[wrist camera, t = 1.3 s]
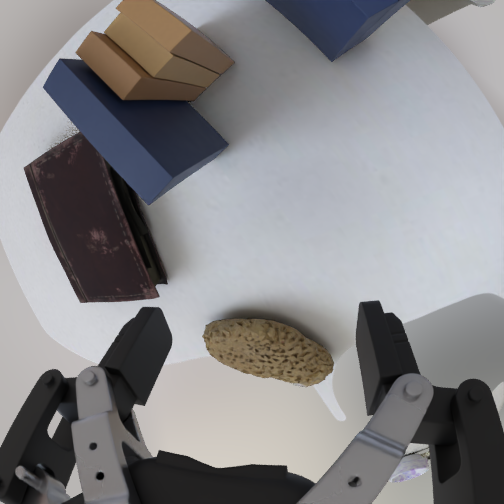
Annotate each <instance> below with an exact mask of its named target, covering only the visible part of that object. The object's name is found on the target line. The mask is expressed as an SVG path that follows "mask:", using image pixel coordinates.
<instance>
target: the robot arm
mask: <svg viewBox="0 0 504 504" xmlns="http://www.w3.org/2000/svg"><path fill="white" fill-rule="evenodd" d="M171 346H172V334H171V332H170V329H169V327H168V324H167V322H166V319H165V317H164V314H163V312H162V310H161V309H160V308H159V307H142V308H141V309H140V311H139V312H138V314H137V315H136V317H135V318H132V319H131V320H130V321H129V322H128V323H126V324H125V325H124V326H123V328H122V329H121V331H120V332H119V335H117V337H116V338H115V340H114V342H113V343H112V345H111V346H110V348H109V349H108V351H107V352H106V354H105V355H104V357H103V359H102V360H101V362H100V363H99V365H98V366H91V367H88V368H86V369H84V370H83V371H82V372H81V373H80V374H79V375H78V377H75V378H64V376H63V375H62V374H61V372H60V371H58V370H56V369H52V370H49V371H46V372H45V373H44V374H43V375H42V376H41V377H40V378H39V380H38V381H37V383H36V385H35V386H34V388H33V389H32V391H31V393H30V394H29V396H28V398H27V399H26V401H25V403H24V404H23V406H22V408H21V410H20V411H19V413H18V415H17V417H16V419H15V420H14V422H13V424H12V426H11V428H10V430H9V431H8V433H7V435H6V437H5V440H4V441H3V443H2V445H1V447H0V501H1V502H3V503H5V504H372V502H373V501H374V500H375V498H376V497H377V496H378V494H379V493H380V492H381V490H382V489H383V487H384V486H385V485H386V483H387V482H388V480H389V479H390V477H391V476H392V474H393V473H394V471H395V470H396V468H397V466H398V465H399V463H400V462H401V460H402V458H403V456H404V454H405V451H406V449H407V447H408V445H409V443H418V444H429V451H430V459H431V469H432V481H433V498H434V504H504V432H503V428H502V425H501V421H500V418H499V414H498V411H497V408H496V405H495V402H494V399H493V396H492V393H491V390H490V388H489V387H488V386H487V384H485V383H484V382H483V381H481V380H478V379H468V380H466V381H464V382H463V383H461V384H460V386H459V387H458V389H454V388H441V387H436V386H433V385H432V384H431V382H430V381H429V380H428V379H427V378H425V377H424V376H422V375H421V374H420V372H419V369H418V366H417V363H416V360H415V358H414V355H413V352H412V349H411V346H410V343H409V342H408V338H407V335H406V333H405V330H404V328H403V325H402V322H401V320H400V319H399V318H398V317H397V316H396V315H394V314H393V313H384V312H383V309H382V306H381V303H380V301H367V302H360V304H359V311H358V320H357V328H356V347H357V352H358V358H359V363H360V369H361V375H362V381H363V388H364V394H365V402H366V409H367V415H368V416H369V415H373V417H372V418H371V420H370V421H369V422H368V424H367V425H366V427H365V428H364V429H363V430H362V431H361V432H359V433H358V434H357V435H356V436H355V438H354V439H353V440H352V441H351V443H350V444H349V445H348V447H347V448H346V449H345V450H344V452H343V453H342V454H341V455H340V457H339V458H338V459H337V460H336V461H335V463H334V464H333V465H332V466H331V467H330V468H329V470H328V471H327V472H326V473H325V474H324V475H323V476H322V478H321V479H320V480H319V481H318V482H317V483H316V484H315V483H314V482H312V481H311V480H309V479H307V478H304V477H302V476H299V475H297V474H293V473H289V472H288V471H287V466H282V465H255V464H251V465H244V466H236V467H227V468H215V467H212V466H209V465H207V464H204V463H202V462H200V461H197V460H195V459H193V458H190V457H188V456H184V455H179V454H174V453H170V452H165V451H161V450H159V452H158V455H157V457H152V455H151V453H150V452H149V451H148V449H147V447H146V445H145V442H144V440H143V437H142V434H141V431H140V428H139V425H138V422H137V418H136V415H135V412H134V411H133V409H132V408H133V406H134V404H138V405H143V406H145V404H146V402H147V399H148V397H149V395H150V393H151V391H152V388H153V386H154V384H155V382H156V379H157V377H158V375H159V373H160V371H161V368H162V366H163V364H164V362H165V360H166V358H167V355H168V353H169V351H170V349H171ZM56 410H57V411H58V412H59V413H60V414H61V415H62V416H63V417H62V419H61V421H60V423H59V425H58V427H57V429H56V431H55V433H54V436H53V438H52V439H51V438H50V437H49V435H48V432H47V429H48V426H49V424H50V422H51V420H52V418H53V416H54V414H55V412H56ZM75 463H77V467H78V473H79V478H80V483H81V487H82V491H83V492H82V493H81V494H79V495H77V496H75V497H73V498H70V496H69V495H68V494H66V490H65V489H66V486H67V483H68V481H69V479H70V476H71V473H72V470H73V468H74V466H75Z"/></svg>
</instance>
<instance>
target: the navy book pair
mask: <svg viewBox="0 0 504 504" xmlns="http://www.w3.org/2000/svg"><path fill="white" fill-rule="evenodd" d="M266 1H267V2H268V3H269V4H271V5H272V6H273V7H274V8H275V9H277V10H278V11H279V12H280V13H281V14H283V15H284V16H285V17H286V18H287V19H288V20H289V21H291V22H292V23H293V24H294V25H295V26H296V27H297V28H298V29H299V30H300V31H301V32H302V33H304V34H305V35H306V36H307V37H308V38H309V39H310V40H311V41H312V42H313V43H314V44H315V45H316V46H317V47H318V48H319V49H320V50H321V51H322V52H323V53H324V55H325V56H326V57H327V58H328V59H329V60H330V61H331V62H332V61H334V60H335V59H336V58H338V57H339V56H341V55H342V54H344V53H345V52H347V51H348V50H349V49H351V48H353V47H354V46H356V45H357V44H359V43H360V42H362V41H363V40H365V39H366V38H367V37H368V36H370V35H371V34H372V33H373V32H374V31H375V30H376V29H377V28H378V27H380V26H381V25H382V24H383V23H384V22H385V21H386V20H388V19H389V18H390V17H391V16H392V15H393V14H395V13H396V12H397V11H398V10H399V9H400V8H402V7H403V6H404V5H405V4H406V3H408V2H409V1H410V0H266Z"/></svg>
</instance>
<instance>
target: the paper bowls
mask: <svg viewBox="0 0 504 504" xmlns="http://www.w3.org/2000/svg"><path fill="white" fill-rule="evenodd" d="M428 469H429V466H428V460H427V458H426V457H422V456H421V455H420V454H411V455H408V456H405V457H403V458H402V460H401V462H400V463H399V465H398V466H397V468H396V470H395V471H394V473H393V474H392V476H391V477H390V479H389V481H390V482H401V481H405V480H409V479H412V478H415V477H417V476H419V475H421V474H423V473H425V472H426V471H427V470H428Z"/></svg>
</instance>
